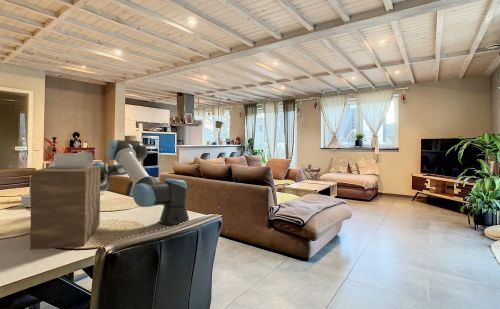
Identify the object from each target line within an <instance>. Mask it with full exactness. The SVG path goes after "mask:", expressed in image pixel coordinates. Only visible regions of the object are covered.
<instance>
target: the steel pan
mask: <svg viewBox="0 0 500 309" xmlns="http://www.w3.org/2000/svg"><path fill="white" fill-rule="evenodd" d="M54 159H55V166H54V168H88V167H91V166H93V164H94V163H93V162H94V153H93V151H83V152H75V153H74V152H62V153H61V152H60V153H55V154H54Z"/></svg>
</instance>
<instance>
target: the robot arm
mask: <svg viewBox="0 0 500 309" xmlns="http://www.w3.org/2000/svg"><path fill="white" fill-rule="evenodd" d="M147 156H148V148H147V146H146V145H145V144H144V143H143V142H142V141H140V140H127V139H125V140H123V139H121V140H120V139H119V140H118V139H112V140H111V141H110V142H109V143H108V145H107V158H108V160H109V161H115V162H116V164H108V162H105V163H104V162H103V161H95V162H94V163H93V166H101V175H100V192H106V191H107V190H108V189H109V187H110V183H109V182H108V178H110V177H114V176H128V177H129V179H130V180H131V182H132V183H133V189H132V197H133V200H134V202H135V203H136V206H138V207H140V208H151V207H155V206H156V207H157V206H162V205H163V209H162V211H161V216H160V217H159V223H160V224H161V225H164V226H178V225H177V224H180V223H183V222H186V221H189V222H190V218H189V215H188V211H187V189H188V186H187V182H186V180H184V179H176V178H164V181H157V179H156V178H155V177H154V176H150V175H149V173H148V172H147V171H146V169H145V168H144V166H143V165H142V164H141V162H142V161H143V160H145V158H147ZM135 203H134V204H135Z"/></svg>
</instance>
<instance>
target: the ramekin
mask: <svg viewBox="0 0 500 309" xmlns="http://www.w3.org/2000/svg"><path fill="white" fill-rule="evenodd" d="M30 194H31V193H27V194H22V195H21V196H20V199H21V205H22V207H23V208H26V207H29V206H30V197H29V195H30Z"/></svg>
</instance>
